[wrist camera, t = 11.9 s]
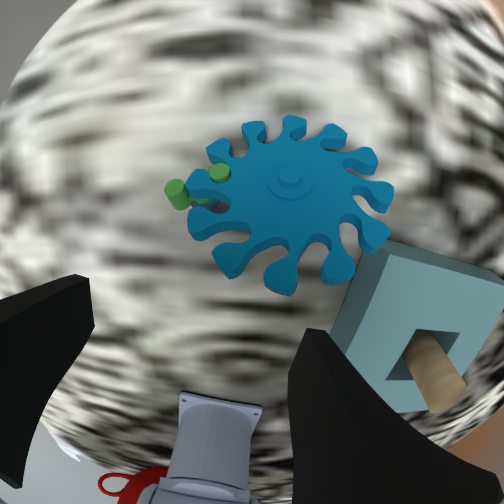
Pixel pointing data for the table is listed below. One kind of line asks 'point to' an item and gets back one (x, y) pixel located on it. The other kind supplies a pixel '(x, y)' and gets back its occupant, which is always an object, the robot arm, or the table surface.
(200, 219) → the blue slotted wheel
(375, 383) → the socket block
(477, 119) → the table surface
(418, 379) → the oak peg
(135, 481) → the ceramic cup
